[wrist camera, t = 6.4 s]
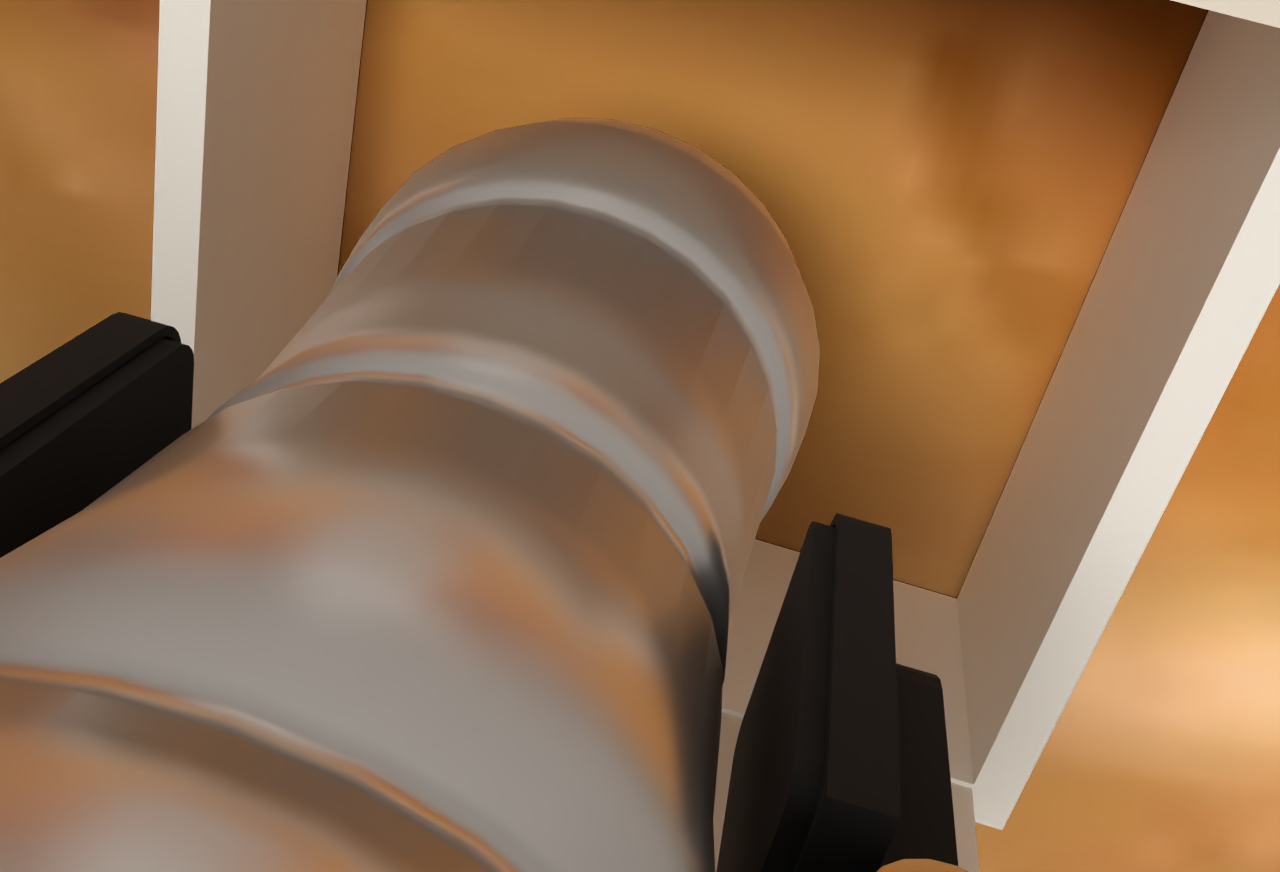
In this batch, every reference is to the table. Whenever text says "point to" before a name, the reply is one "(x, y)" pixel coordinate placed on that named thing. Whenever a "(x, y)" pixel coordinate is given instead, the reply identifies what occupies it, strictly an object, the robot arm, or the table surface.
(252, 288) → the white rectangular open frame
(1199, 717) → the table surface
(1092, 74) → the table surface
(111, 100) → the table surface
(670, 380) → the plastic bottle
